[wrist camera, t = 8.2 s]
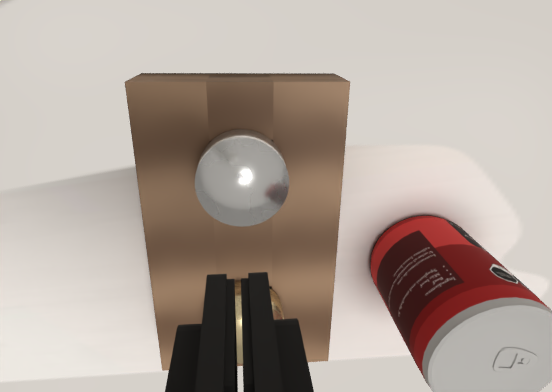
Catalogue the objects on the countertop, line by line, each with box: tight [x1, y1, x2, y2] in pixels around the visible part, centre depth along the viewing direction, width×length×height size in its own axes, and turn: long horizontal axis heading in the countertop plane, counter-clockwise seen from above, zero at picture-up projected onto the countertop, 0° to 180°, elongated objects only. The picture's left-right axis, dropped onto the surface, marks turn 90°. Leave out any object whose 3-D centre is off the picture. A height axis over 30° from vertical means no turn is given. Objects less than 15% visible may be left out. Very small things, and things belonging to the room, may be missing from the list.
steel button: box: [195, 129, 289, 227], centre depth 24 cm, size 5×5×6 cm
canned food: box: [371, 216, 552, 392], centre depth 27 cm, size 8×8×11 cm
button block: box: [125, 73, 350, 370], centre depth 27 cm, size 20×12×4 cm, turn 0°
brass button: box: [235, 282, 284, 364], centre depth 28 cm, size 5×5×6 cm
